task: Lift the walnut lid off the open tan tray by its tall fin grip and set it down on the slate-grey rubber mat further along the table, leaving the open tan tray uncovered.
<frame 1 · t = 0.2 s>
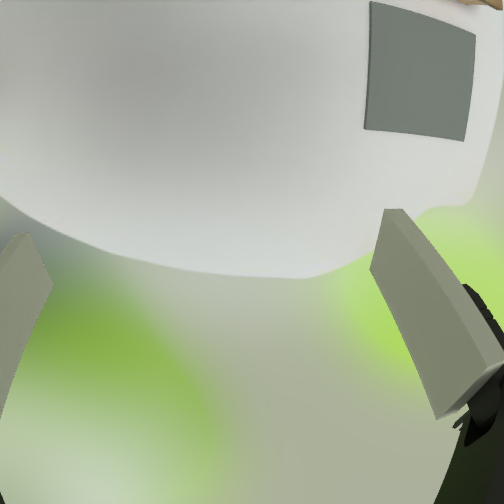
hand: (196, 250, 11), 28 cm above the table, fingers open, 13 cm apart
mat: (425, 75, 30), on the table
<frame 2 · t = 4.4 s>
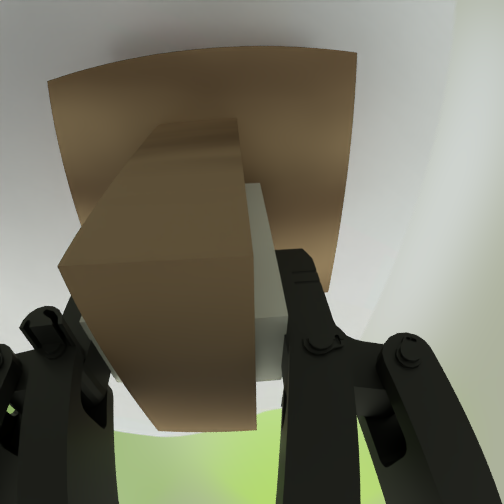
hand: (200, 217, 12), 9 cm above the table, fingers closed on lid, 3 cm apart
lid: (205, 185, 15), point 6 cm above the table, touching open tan tray, gripper
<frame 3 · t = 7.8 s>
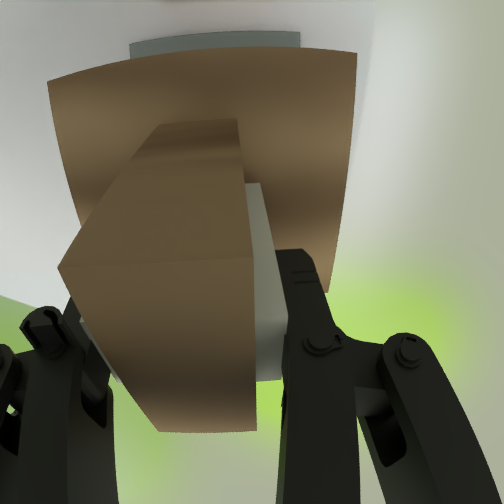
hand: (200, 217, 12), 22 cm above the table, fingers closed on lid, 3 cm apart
lid: (205, 185, 15), point 19 cm above the table, touching gripper
mat: (217, 109, 30), on the table
when the fingers open (5 cm above the table, at t = 11.0 s): lid drops 1 cm, resting on mat.
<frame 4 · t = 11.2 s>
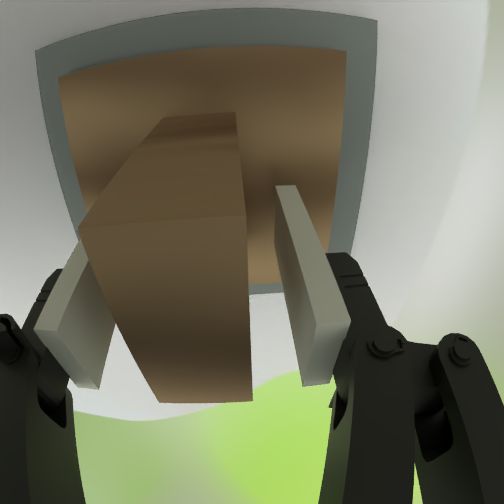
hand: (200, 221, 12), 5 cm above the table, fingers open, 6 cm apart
lid: (205, 175, 16), point 1 cm above the table, touching mat
mat: (207, 172, 16), on the table
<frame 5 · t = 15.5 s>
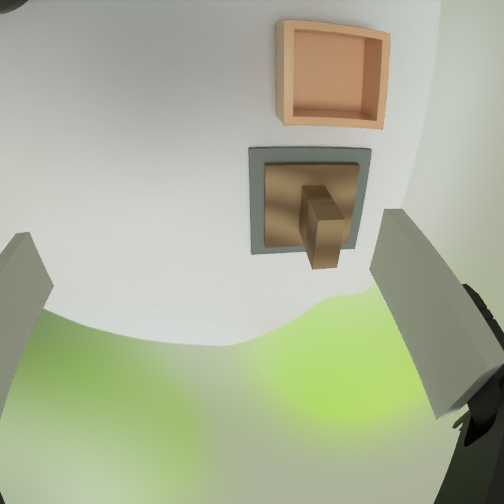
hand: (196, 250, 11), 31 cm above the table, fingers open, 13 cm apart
lid: (309, 203, 44), point 1 cm above the table, touching mat
mat: (308, 202, 45), on the table
open tan tray: (323, 71, 33), on the table
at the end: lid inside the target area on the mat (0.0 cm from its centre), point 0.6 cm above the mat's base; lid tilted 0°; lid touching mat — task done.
